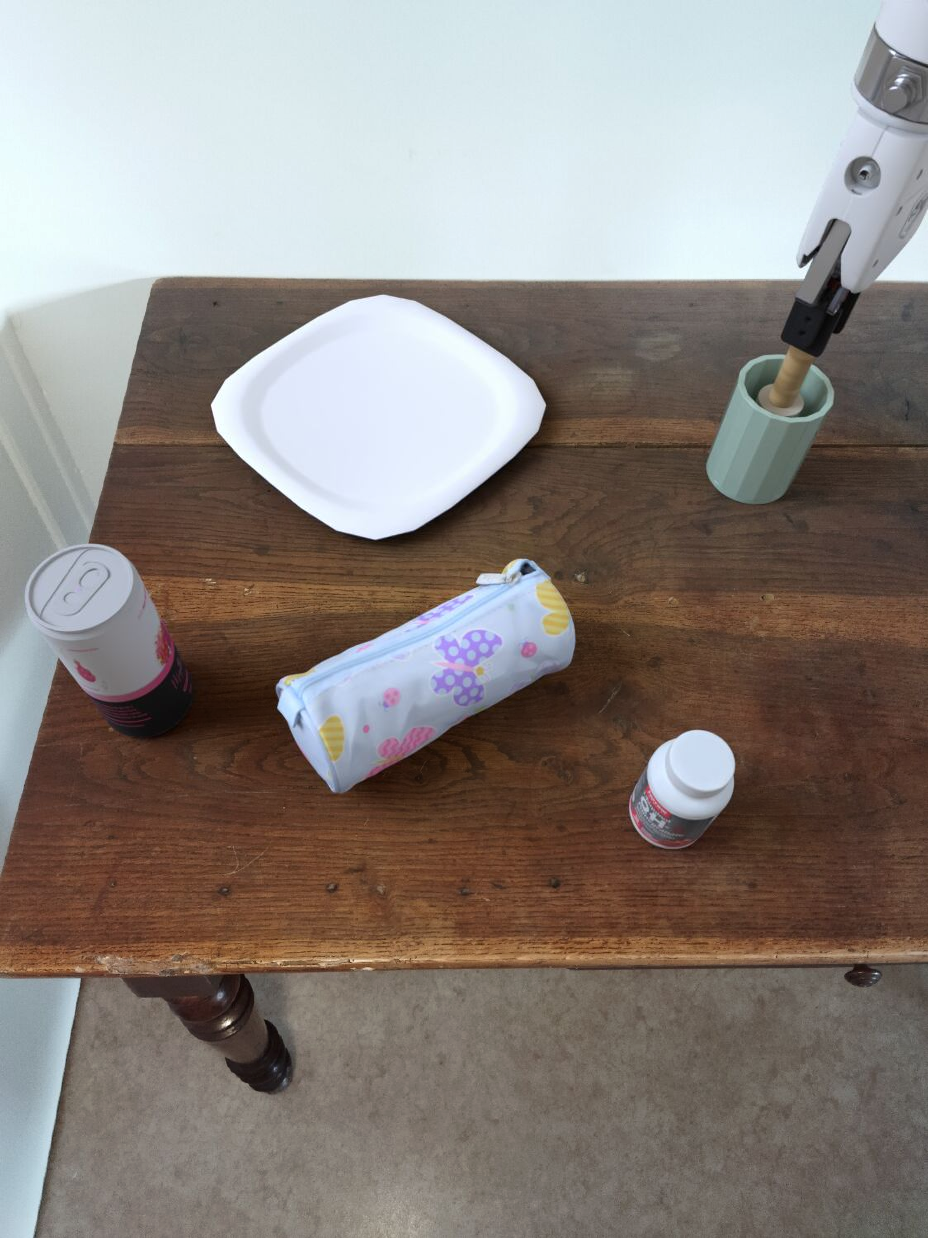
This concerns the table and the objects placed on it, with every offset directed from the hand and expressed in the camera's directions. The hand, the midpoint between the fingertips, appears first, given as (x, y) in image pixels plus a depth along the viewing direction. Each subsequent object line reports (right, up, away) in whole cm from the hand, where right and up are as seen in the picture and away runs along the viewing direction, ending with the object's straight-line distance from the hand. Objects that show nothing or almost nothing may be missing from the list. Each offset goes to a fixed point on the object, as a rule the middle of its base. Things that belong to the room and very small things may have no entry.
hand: (811, 333), depth 65 cm
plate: (-33, -3, +16) cm, 37 cm away
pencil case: (-28, -27, +1) cm, 39 cm away
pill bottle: (-11, -35, -3) cm, 37 cm away
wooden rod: (0, -7, +11) cm, 13 cm away
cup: (0, -8, +13) cm, 15 cm away
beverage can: (-49, -27, 0) cm, 55 cm away
